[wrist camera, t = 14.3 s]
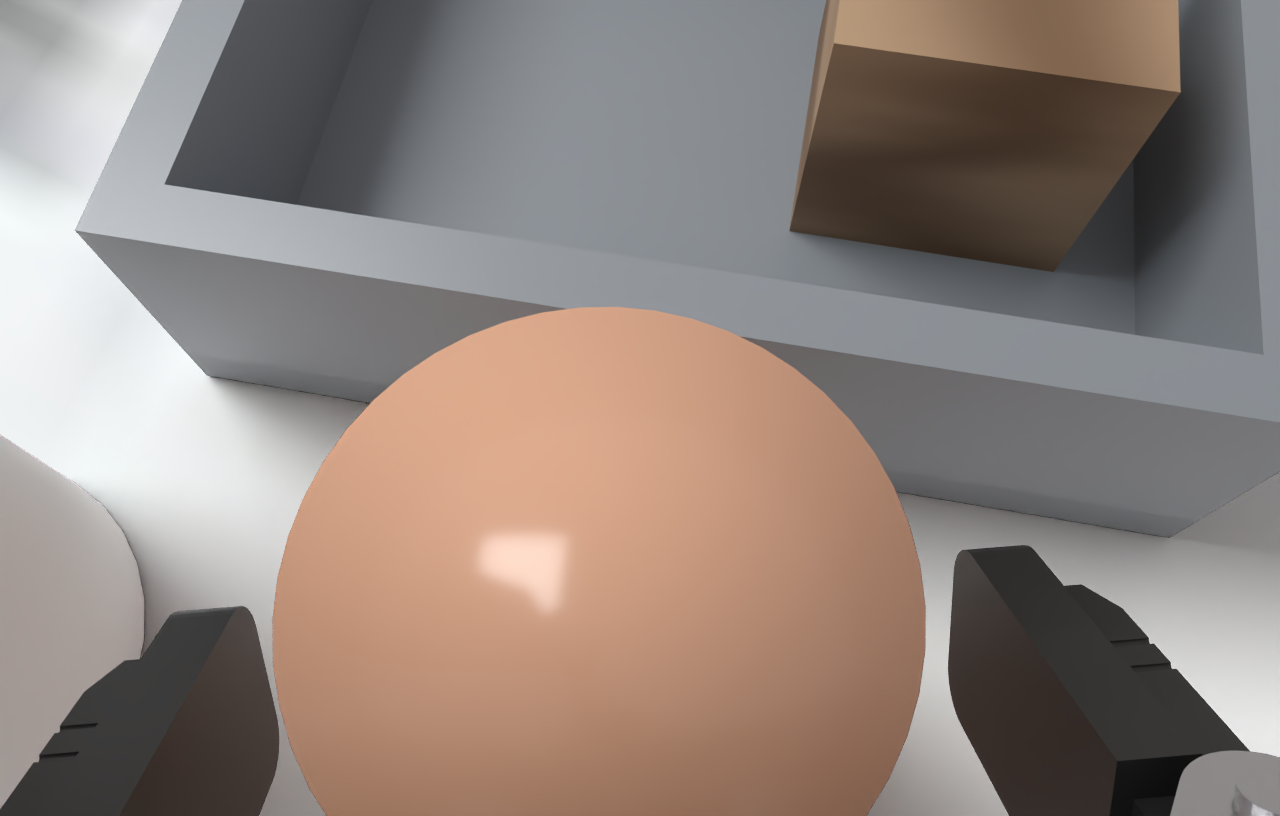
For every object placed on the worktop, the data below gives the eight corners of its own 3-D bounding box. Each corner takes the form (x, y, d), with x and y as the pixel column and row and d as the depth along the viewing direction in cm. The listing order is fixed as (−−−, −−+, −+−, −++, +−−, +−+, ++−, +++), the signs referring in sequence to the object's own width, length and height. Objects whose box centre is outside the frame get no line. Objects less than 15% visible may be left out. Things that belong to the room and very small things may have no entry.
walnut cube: (789, 230, 20) (833, 42, 15) (819, 32, 22) (866, -188, 17) (1053, 272, 19) (1180, 92, 15) (1059, 66, 21) (1174, -150, 17)
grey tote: (206, 375, 20) (74, 229, 15) (403, -137, 25) (349, -358, 21) (1168, 537, 18) (1345, 432, 14) (1156, -40, 24) (1278, -252, 19)
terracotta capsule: (437, 864, 16) (175, 879, 7) (509, 560, 18) (375, 266, 9) (751, 927, 16) (899, 1028, 7) (789, 610, 18) (945, 356, 9)
